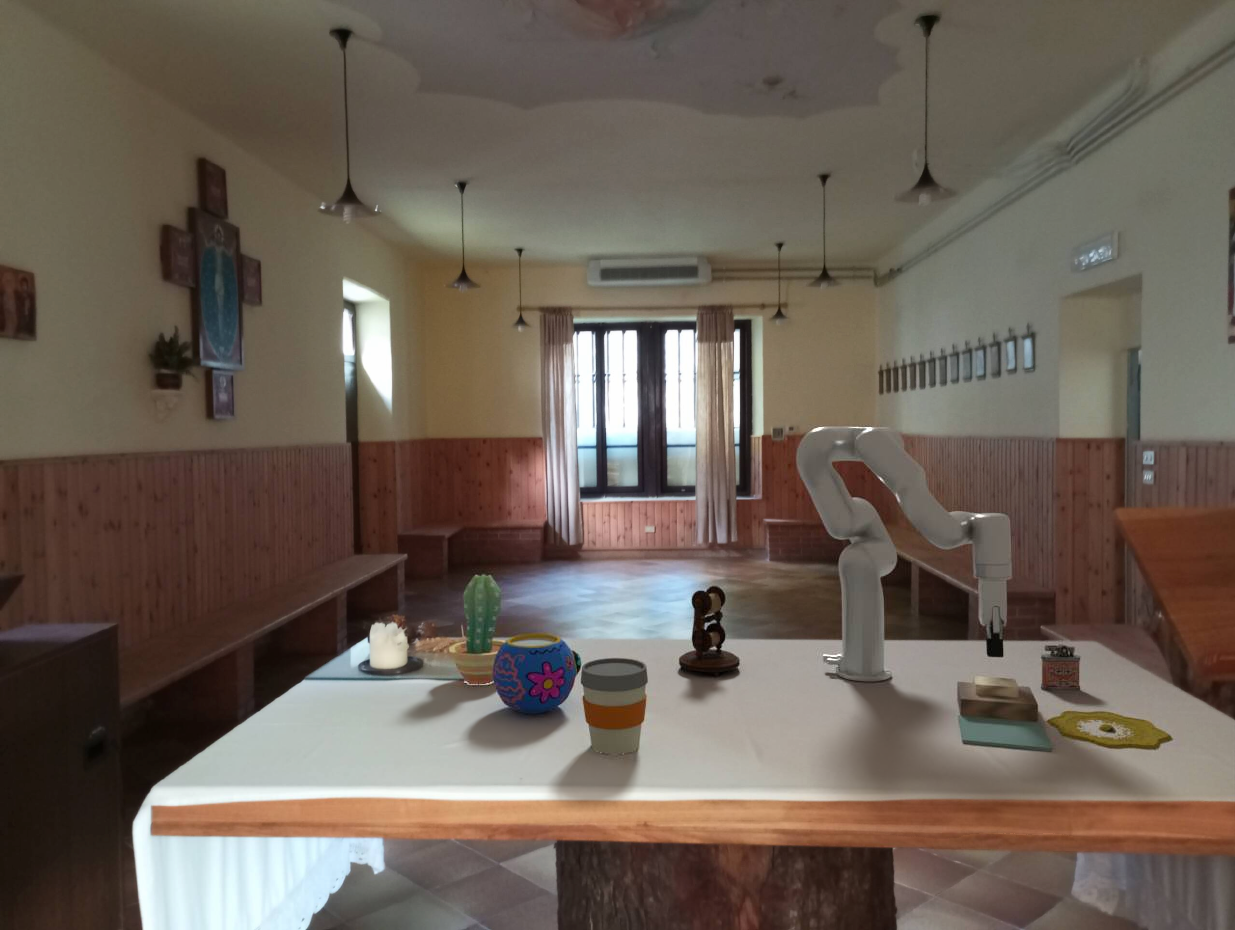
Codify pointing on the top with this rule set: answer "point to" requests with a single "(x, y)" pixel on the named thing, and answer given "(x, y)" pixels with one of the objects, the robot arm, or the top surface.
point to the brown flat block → (997, 704)
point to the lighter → (1060, 669)
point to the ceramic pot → (535, 672)
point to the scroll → (708, 635)
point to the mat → (1003, 733)
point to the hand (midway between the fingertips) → (995, 656)
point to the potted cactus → (479, 631)
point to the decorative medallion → (1141, 729)
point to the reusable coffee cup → (614, 703)
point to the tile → (995, 686)
